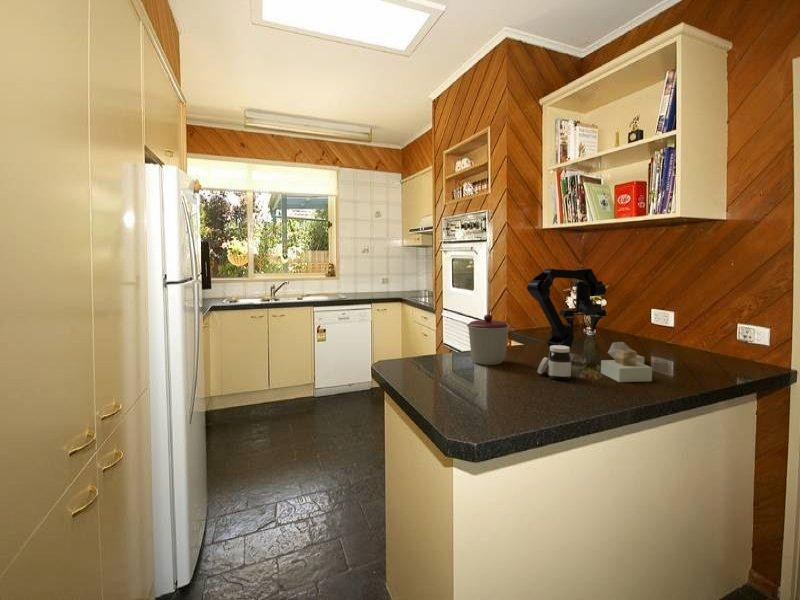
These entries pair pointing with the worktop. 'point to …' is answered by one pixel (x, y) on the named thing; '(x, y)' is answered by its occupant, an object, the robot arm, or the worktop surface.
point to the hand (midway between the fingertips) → (582, 332)
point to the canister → (488, 340)
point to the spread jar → (557, 363)
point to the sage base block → (626, 371)
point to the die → (617, 346)
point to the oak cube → (626, 357)
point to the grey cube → (640, 359)
